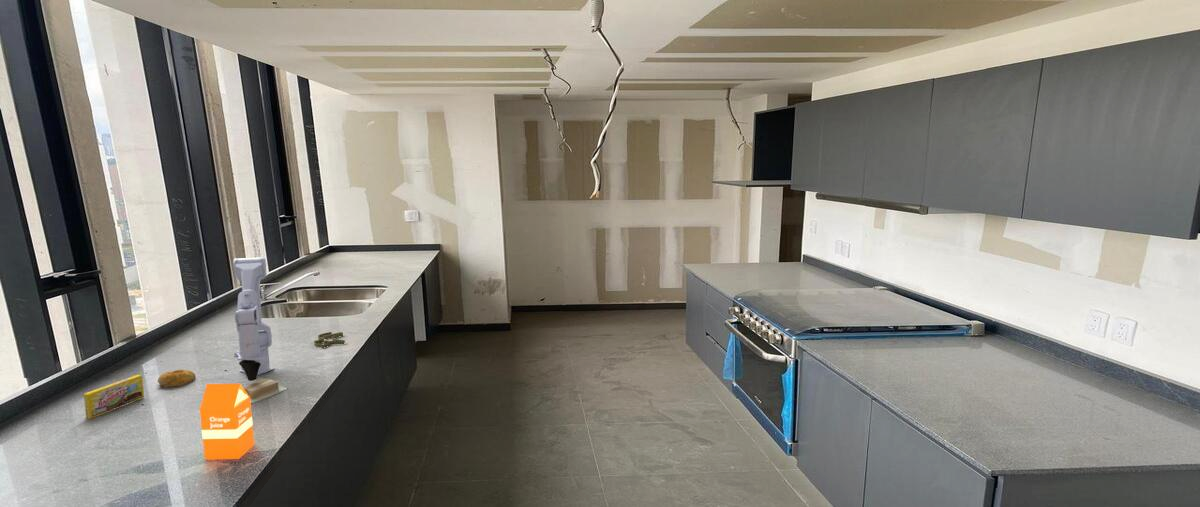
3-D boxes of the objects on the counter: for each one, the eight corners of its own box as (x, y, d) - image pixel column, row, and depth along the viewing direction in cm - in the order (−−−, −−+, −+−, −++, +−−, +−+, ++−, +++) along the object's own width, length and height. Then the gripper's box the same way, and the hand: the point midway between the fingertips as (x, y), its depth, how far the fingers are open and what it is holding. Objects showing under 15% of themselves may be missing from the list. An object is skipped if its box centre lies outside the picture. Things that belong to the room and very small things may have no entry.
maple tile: (239, 387, 181) (252, 391, 178) (264, 378, 189) (278, 381, 186) (240, 395, 181) (253, 399, 179) (265, 386, 190) (278, 389, 187)
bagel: (202, 379, 195) (201, 367, 194) (168, 391, 185) (166, 378, 184) (186, 375, 199) (184, 363, 198) (152, 386, 189) (150, 373, 188)
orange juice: (222, 444, 151) (215, 378, 148) (254, 444, 152) (248, 377, 148) (204, 460, 143) (196, 389, 140) (238, 459, 144) (232, 389, 141)
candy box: (91, 419, 163) (87, 394, 162) (85, 419, 164) (81, 393, 163) (145, 397, 179) (142, 374, 178) (140, 397, 180) (137, 373, 178)
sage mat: (235, 399, 179) (235, 398, 179) (272, 385, 191) (272, 384, 191) (250, 403, 176) (250, 403, 176) (287, 389, 188) (287, 388, 188)
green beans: (345, 346, 234) (345, 342, 234) (314, 350, 228) (314, 346, 228) (343, 334, 250) (342, 330, 249) (314, 338, 244) (314, 334, 244)
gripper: (223, 342, 182) (227, 380, 184) (251, 349, 176) (254, 387, 178) (244, 336, 188) (247, 373, 190) (271, 343, 182) (274, 380, 185)
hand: (252, 379), depth 185 cm, fingers closed
